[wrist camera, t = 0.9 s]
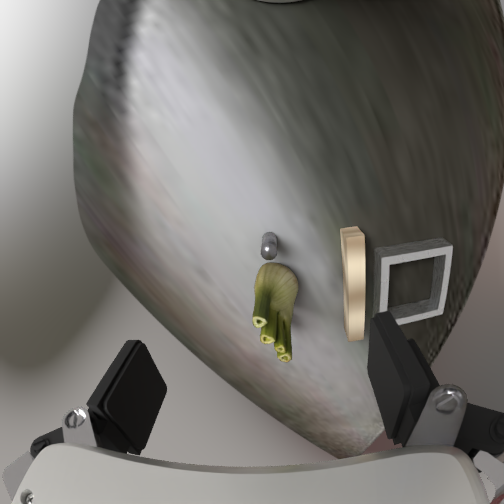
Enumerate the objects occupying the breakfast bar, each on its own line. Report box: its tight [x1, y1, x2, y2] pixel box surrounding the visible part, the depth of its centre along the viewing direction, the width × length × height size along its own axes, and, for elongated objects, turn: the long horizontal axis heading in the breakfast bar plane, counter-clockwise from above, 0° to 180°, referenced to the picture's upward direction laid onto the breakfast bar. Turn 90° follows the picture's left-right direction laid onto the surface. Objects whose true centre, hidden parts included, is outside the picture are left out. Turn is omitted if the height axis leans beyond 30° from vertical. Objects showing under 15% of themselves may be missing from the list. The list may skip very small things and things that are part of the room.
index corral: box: [372, 237, 453, 325], centre depth 31 cm, size 10×10×3 cm
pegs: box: [261, 232, 277, 260], centre depth 31 cm, size 12×2×4 cm, turn 11°
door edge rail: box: [340, 226, 365, 342], centre depth 31 cm, size 14×2×3 cm, turn 11°
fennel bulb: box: [253, 263, 298, 362], centre depth 28 cm, size 6×5×12 cm
